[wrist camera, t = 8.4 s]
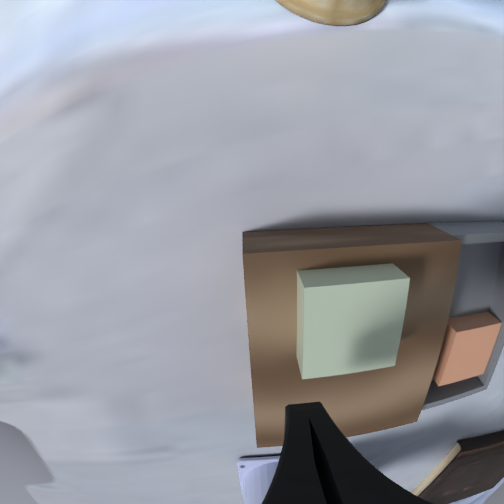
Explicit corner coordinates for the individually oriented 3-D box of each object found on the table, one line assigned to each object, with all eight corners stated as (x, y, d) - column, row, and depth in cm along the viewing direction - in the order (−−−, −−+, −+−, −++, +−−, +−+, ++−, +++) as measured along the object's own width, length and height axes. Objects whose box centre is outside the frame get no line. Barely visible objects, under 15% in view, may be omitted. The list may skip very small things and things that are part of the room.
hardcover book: (488, 479, 34) (492, 487, 32) (393, 505, 32) (397, 516, 30) (541, 416, 30) (547, 425, 28) (455, 436, 28) (463, 449, 25)
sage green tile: (381, 345, 17) (394, 365, 15) (296, 356, 17) (302, 379, 15) (392, 263, 15) (410, 278, 14) (297, 270, 15) (304, 287, 13)
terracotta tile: (438, 386, 20) (428, 371, 22) (483, 373, 20) (472, 361, 22) (456, 332, 19) (443, 319, 21) (501, 322, 19) (488, 311, 21)
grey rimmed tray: (470, 370, 23) (486, 388, 21) (398, 389, 23) (412, 412, 20) (505, 221, 19) (530, 231, 16) (427, 223, 19) (452, 235, 16)
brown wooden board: (398, 389, 23) (417, 421, 19) (254, 409, 23) (257, 447, 19) (427, 223, 19) (461, 240, 15) (242, 232, 19) (242, 253, 15)
